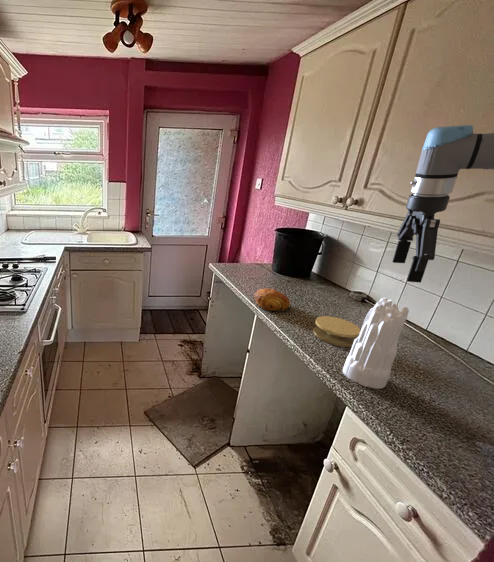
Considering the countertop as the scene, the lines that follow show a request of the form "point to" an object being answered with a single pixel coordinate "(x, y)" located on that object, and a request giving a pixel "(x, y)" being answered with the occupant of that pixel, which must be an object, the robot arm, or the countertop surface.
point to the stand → (336, 331)
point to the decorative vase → (376, 345)
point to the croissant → (271, 299)
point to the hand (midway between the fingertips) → (405, 271)
